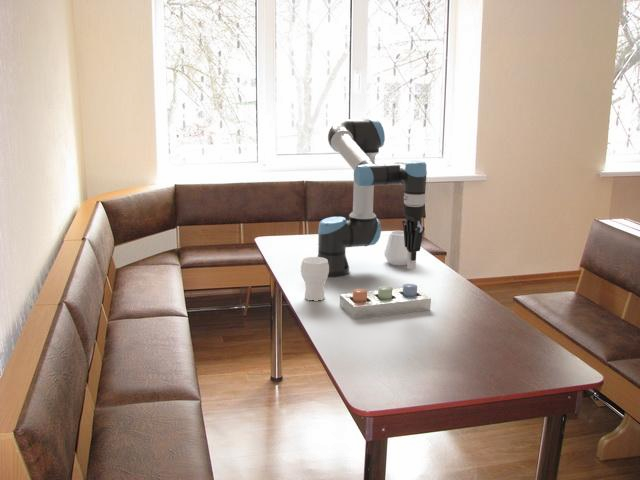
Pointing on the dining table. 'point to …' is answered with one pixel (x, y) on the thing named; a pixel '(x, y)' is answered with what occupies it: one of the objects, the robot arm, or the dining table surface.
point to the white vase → (396, 249)
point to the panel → (384, 304)
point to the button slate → (409, 290)
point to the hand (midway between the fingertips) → (411, 268)
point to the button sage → (385, 293)
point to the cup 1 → (314, 277)
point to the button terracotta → (359, 295)
